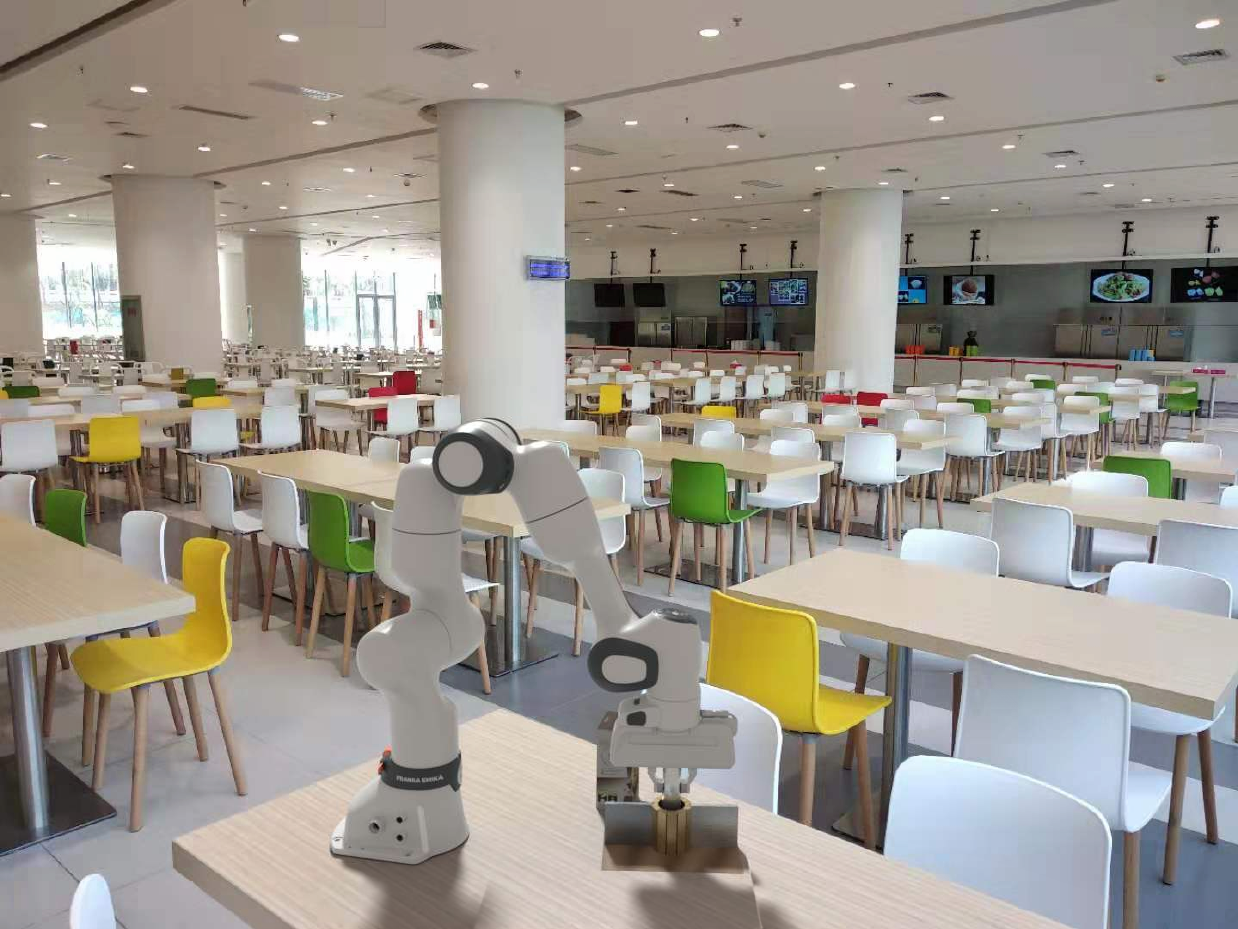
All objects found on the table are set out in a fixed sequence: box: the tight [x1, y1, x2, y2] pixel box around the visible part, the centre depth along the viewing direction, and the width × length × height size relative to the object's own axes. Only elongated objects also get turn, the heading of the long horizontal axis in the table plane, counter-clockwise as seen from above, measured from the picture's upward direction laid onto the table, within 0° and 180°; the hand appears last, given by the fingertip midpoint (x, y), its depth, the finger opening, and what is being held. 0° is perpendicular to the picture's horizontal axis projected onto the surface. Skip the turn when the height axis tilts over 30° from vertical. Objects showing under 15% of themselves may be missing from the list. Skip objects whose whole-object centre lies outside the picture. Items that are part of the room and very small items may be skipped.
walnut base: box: [600, 830, 744, 875], centre depth 154 cm, size 22×12×2 cm, turn 89°
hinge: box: [603, 795, 739, 855], centre depth 155 cm, size 22×6×7 cm, turn 89°
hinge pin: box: [661, 768, 682, 811], centre depth 154 cm, size 3×3×12 cm
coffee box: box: [595, 710, 640, 810], centre depth 171 cm, size 9×6×16 cm
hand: (671, 791), depth 155 cm, fingers closed on hinge pin, 3 cm apart
